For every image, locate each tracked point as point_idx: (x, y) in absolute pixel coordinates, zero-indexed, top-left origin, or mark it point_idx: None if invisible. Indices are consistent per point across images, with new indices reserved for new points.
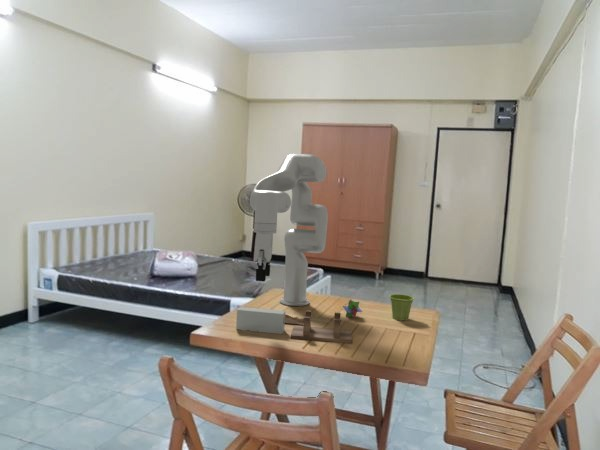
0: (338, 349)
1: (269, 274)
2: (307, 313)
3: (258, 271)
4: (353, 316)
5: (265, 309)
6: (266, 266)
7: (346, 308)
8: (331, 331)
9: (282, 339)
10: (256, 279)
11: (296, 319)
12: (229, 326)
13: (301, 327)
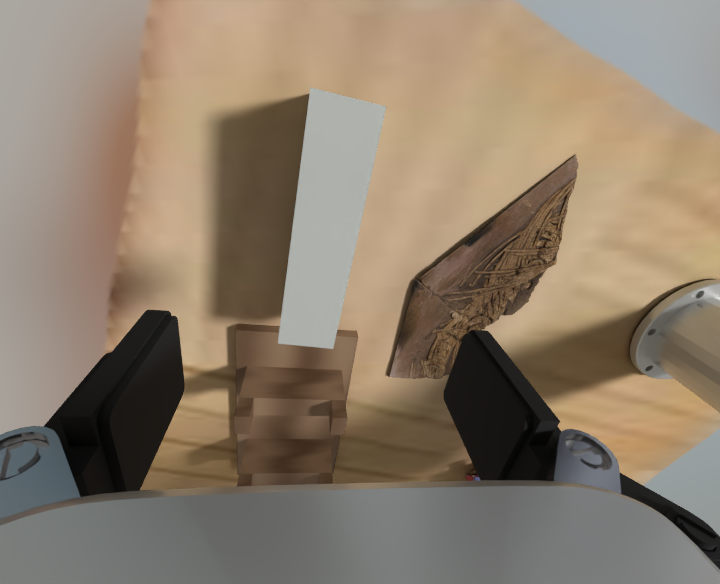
0: (172, 440)
1: (452, 407)
2: (331, 417)
3: (54, 421)
4: (476, 475)
5: (346, 262)
6: (491, 455)
7: None
8: (308, 434)
9: (218, 298)
10: (143, 322)
11: (448, 341)
12: (357, 49)
13: (338, 360)
